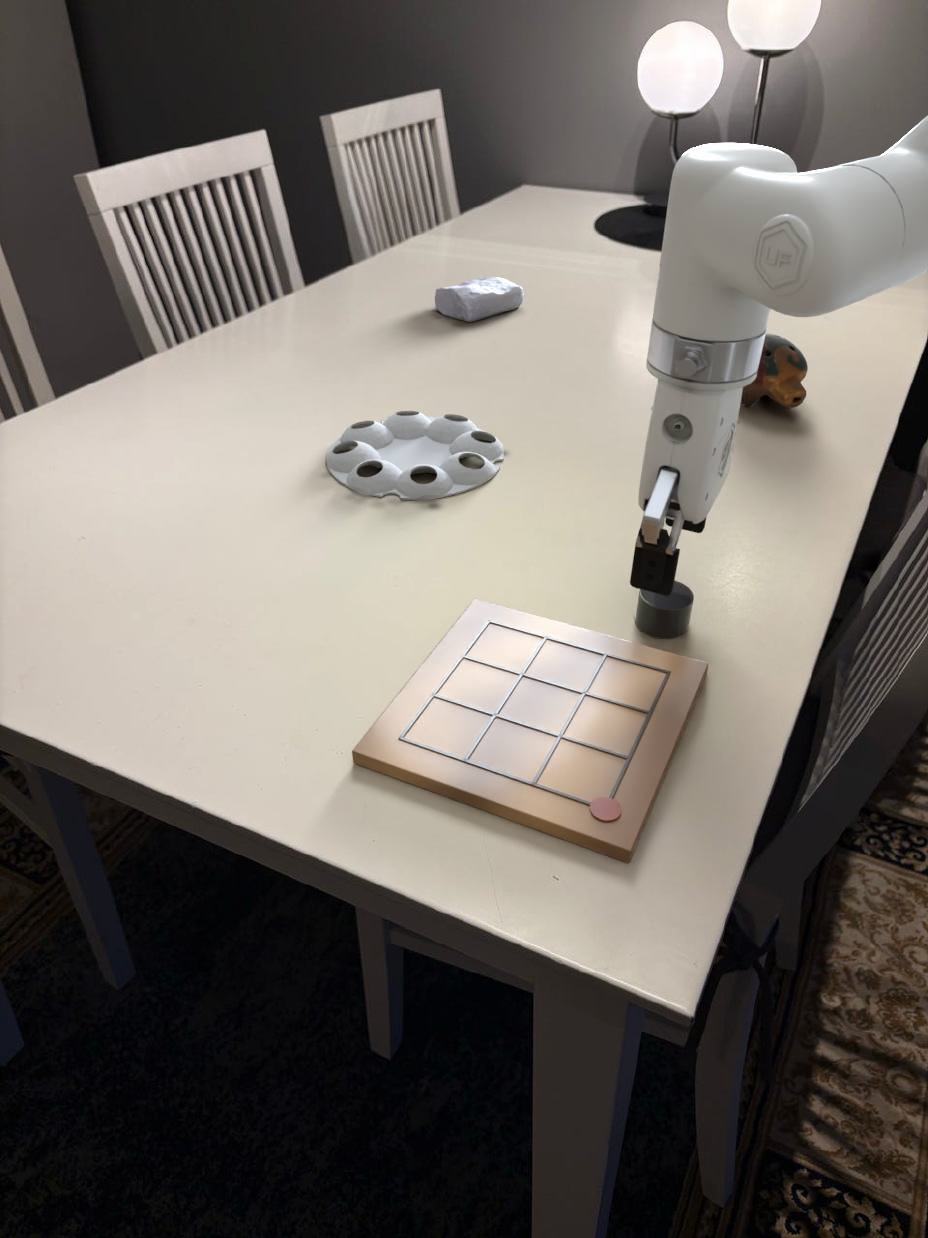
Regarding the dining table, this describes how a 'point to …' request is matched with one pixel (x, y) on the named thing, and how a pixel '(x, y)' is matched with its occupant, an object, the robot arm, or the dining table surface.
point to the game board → (540, 725)
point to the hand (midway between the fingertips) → (668, 557)
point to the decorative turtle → (778, 374)
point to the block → (478, 298)
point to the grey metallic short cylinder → (665, 612)
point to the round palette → (414, 455)
